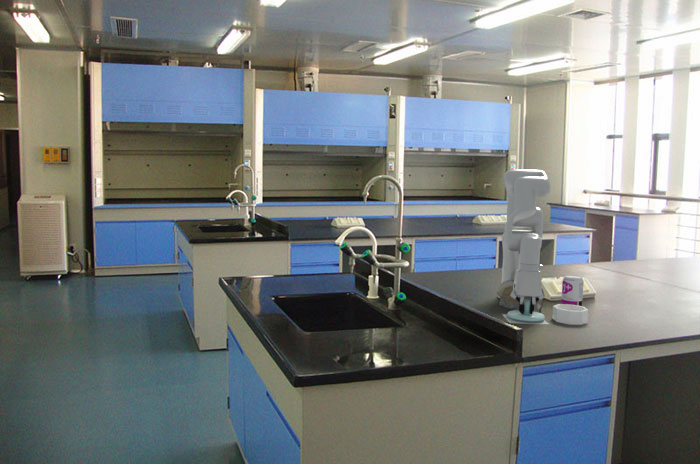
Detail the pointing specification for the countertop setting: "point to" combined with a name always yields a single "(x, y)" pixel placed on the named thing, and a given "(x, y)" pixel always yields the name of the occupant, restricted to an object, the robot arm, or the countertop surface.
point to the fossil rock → (510, 302)
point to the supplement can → (572, 290)
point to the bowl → (570, 314)
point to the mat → (522, 321)
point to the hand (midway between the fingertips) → (526, 313)
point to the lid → (526, 313)
